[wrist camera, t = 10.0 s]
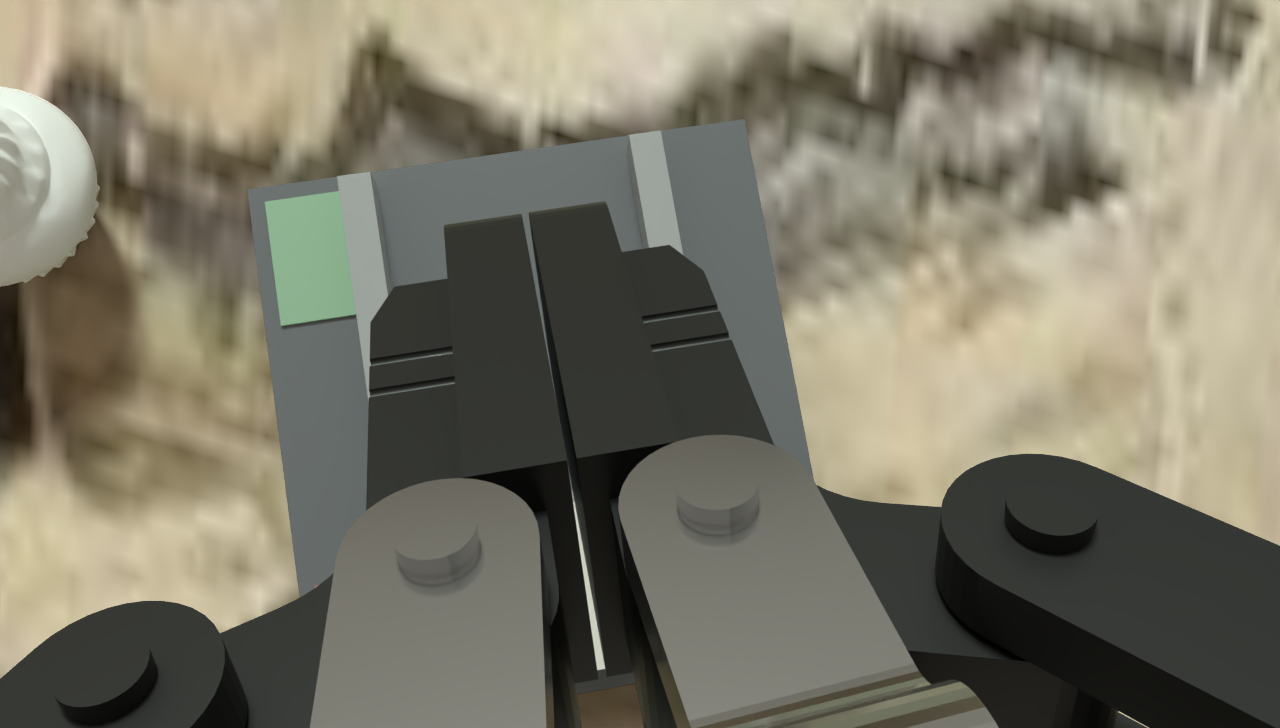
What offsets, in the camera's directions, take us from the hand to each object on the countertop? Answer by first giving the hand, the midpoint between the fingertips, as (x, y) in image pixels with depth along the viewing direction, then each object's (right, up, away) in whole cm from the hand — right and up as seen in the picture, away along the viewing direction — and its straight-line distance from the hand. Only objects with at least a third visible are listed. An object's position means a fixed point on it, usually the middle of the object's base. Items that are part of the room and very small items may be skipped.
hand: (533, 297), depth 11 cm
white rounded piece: (-19, +4, +28) cm, 34 cm away
